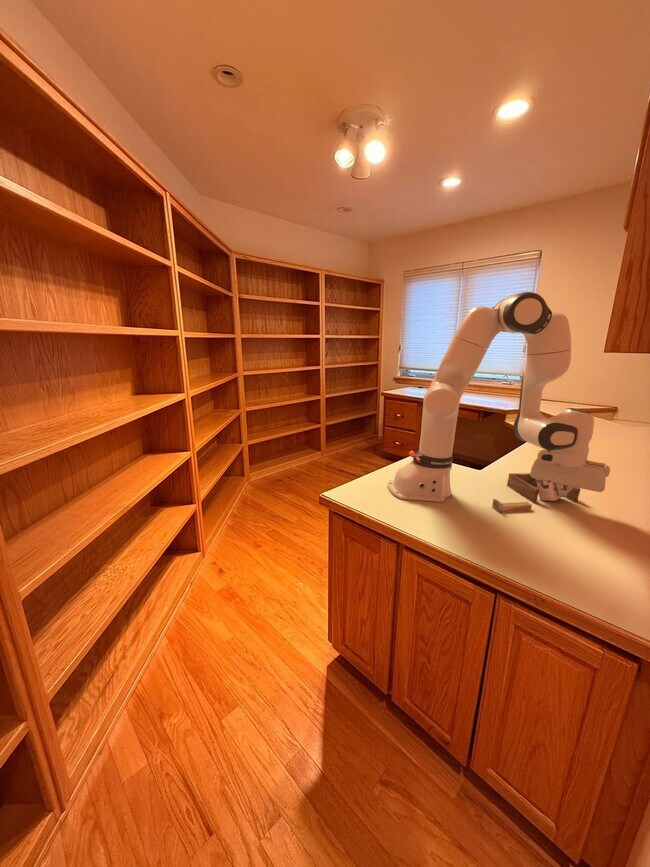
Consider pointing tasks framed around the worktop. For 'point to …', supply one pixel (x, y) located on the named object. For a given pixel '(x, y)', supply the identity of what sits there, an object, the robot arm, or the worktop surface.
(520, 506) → the beech bar
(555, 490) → the ink box
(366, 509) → the worktop surface
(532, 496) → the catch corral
